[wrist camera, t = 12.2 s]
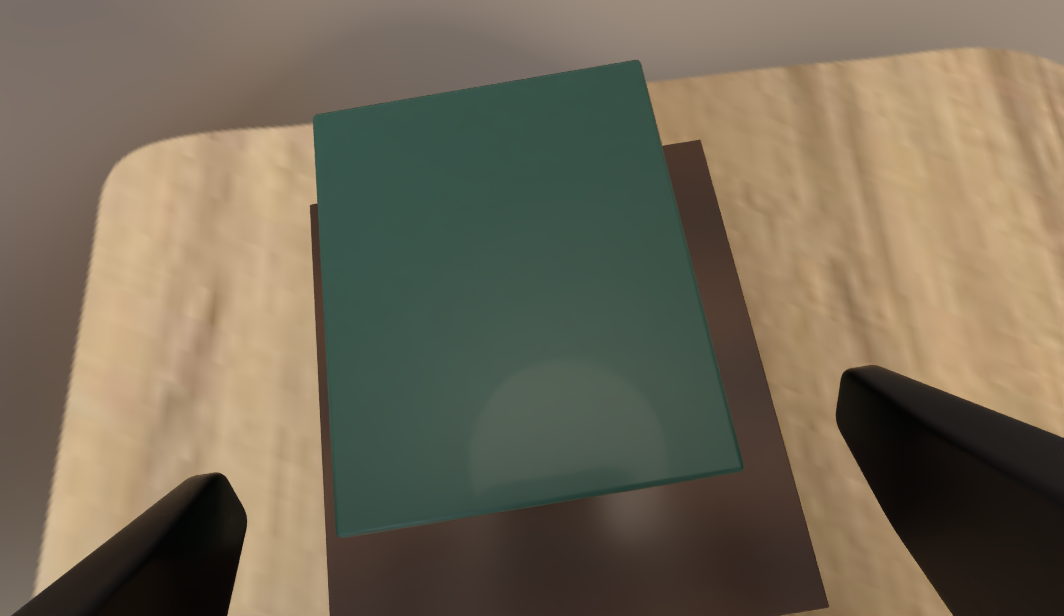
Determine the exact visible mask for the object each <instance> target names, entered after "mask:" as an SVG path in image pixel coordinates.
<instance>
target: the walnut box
mask: <svg viewBox="0 0 1064 616" xmlns="http://www.w3.org/2000/svg"><path fill="white" fill-rule="evenodd" d="M662 147H663V151H664V155H665V159H666V163H667V167H668V171H669V175H670V179H671V183H672V186H673V190H674V194H675V198H676V202H677V206H678V210H679V214H680V218H681V222H682V226H683V229H684V233H685V237H686V241H687V245H688V249H689V253H690V257H691V261H692V265H693V269H694V272H695V276H696V280H697V284H698V288H699V292H700V296H701V300H702V304H703V308H704V312H705V315H706V319H707V323H708V327H709V331H710V335H711V339H712V343H713V347H714V351H715V355H716V358H717V362H718V366H719V370H720V374H721V378H722V382H723V386H724V390H725V394H726V398H727V401H728V405H729V409H730V413H731V417H732V421H733V425H734V429H735V433H736V437H737V441H738V444H739V448H740V452H741V456H742V460H743V464H744V467H743V471H741V472H740V473H736V474H729V475H723V476H717V477H711V478H705V479H699V480H693V481H687V482H681V483H675V484H669V485H663V486H657V487H651V488H645V489H639V490H632V491H626V492H620V493H614V494H608V495H602V496H596V497H590V498H584V499H578V500H572V501H566V502H560V503H554V504H548V505H542V506H535V507H529V508H523V509H517V510H511V511H505V512H499V513H493V514H487V515H481V516H475V517H469V518H463V519H457V520H451V521H445V522H438V523H432V524H426V525H420V526H414V527H408V528H402V529H396V530H390V531H384V532H378V533H372V534H366V535H360V536H354V537H347V538H340V537H338V536H337V534H336V526H335V508H334V490H333V472H332V454H331V436H330V418H329V400H328V382H327V364H326V346H325V328H324V310H323V292H322V274H321V256H320V238H319V220H318V204H312V205H310V217H311V237H312V258H313V279H314V299H315V320H316V341H317V361H318V382H319V403H320V423H321V444H322V465H323V485H324V506H325V526H326V547H327V568H328V588H329V609H330V616H780V615H786V614H792V613H798V612H805V611H811V610H817V609H823V608H828V607H829V605H828V601H827V597H826V594H825V590H824V586H823V583H822V579H821V576H820V572H819V568H818V565H817V561H816V557H815V554H814V550H813V547H812V543H811V539H810V536H809V532H808V528H807V525H806V521H805V518H804V514H803V510H802V507H801V503H800V499H799V496H798V492H797V489H796V485H795V481H794V478H793V474H792V470H791V467H790V463H789V460H788V456H787V452H786V449H785V445H784V441H783V438H782V434H781V430H780V427H779V423H778V420H777V416H776V412H775V409H774V405H773V401H772V398H771V394H770V391H769V387H768V383H767V380H766V376H765V372H764V369H763V365H762V362H761V358H760V354H759V351H758V347H757V343H756V340H755V336H754V333H753V329H752V325H751V322H750V318H749V314H748V311H747V307H746V304H745V300H744V296H743V293H742V289H741V285H740V282H739V278H738V274H737V271H736V267H735V264H734V260H733V256H732V253H731V249H730V245H729V242H728V238H727V235H726V231H725V227H724V224H723V220H722V216H721V213H720V209H719V206H718V202H717V198H716V195H715V191H714V187H713V184H712V180H711V177H710V173H709V169H708V166H707V162H706V158H705V155H704V151H703V148H702V144H701V141H700V140H695V141H689V142H683V143H677V144H671V145H665V146H662Z"/></svg>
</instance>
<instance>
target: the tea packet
mask: <svg viewBox="0 0 1064 616" xmlns="http://www.w3.org/2000/svg"><path fill="white" fill-rule="evenodd" d="M313 130H314V148H315V166H316V184H317V202H318V220H319V238H320V256H321V274H322V292H323V310H324V328H325V346H326V364H327V382H328V400H329V418H330V436H331V454H332V472H333V490H334V508H335V526H336V534H337V536H338V537H340V538H347V537H354V536H360V535H366V534H372V533H378V532H384V531H390V530H396V529H402V528H408V527H414V526H420V525H426V524H432V523H438V522H445V521H451V520H457V519H463V518H469V517H475V516H481V515H487V514H493V513H499V512H505V511H511V510H517V509H523V508H529V507H535V506H542V505H548V504H554V503H560V502H566V501H572V500H578V499H584V498H590V497H596V496H602V495H608V494H614V493H620V492H626V491H632V490H639V489H645V488H651V487H657V486H663V485H669V484H675V483H681V482H687V481H693V480H699V479H705V478H711V477H717V476H723V475H729V474H736V473H740V472H741V471H743V467H744V464H743V460H742V456H741V452H740V448H739V444H738V441H737V437H736V433H735V429H734V425H733V421H732V417H731V413H730V409H729V405H728V401H727V398H726V394H725V390H724V386H723V382H722V378H721V374H720V370H719V366H718V362H717V358H716V355H715V351H714V347H713V343H712V339H711V335H710V331H709V327H708V323H707V319H706V315H705V312H704V308H703V304H702V300H701V296H700V292H699V288H698V284H697V280H696V276H695V272H694V269H693V265H692V261H691V257H690V253H689V249H688V245H687V241H686V237H685V233H684V229H683V226H682V222H681V218H680V214H679V210H678V206H677V202H676V198H675V194H674V190H673V186H672V183H671V179H670V175H669V171H668V167H667V163H666V159H665V155H664V151H663V147H662V143H661V140H660V136H659V132H658V128H657V124H656V120H655V116H654V112H653V108H652V104H651V100H650V96H649V93H648V89H647V85H646V81H645V77H644V73H643V70H642V65H641V63H640V62H639V60H632V61H627V62H621V63H615V64H609V65H603V66H597V67H592V68H586V69H580V70H574V71H568V72H562V73H556V74H550V75H545V76H539V77H533V78H527V79H521V80H515V81H510V82H504V83H498V84H492V85H486V86H480V87H474V88H468V89H462V90H457V91H451V92H445V93H439V94H434V95H427V96H422V97H416V98H410V99H404V100H399V101H393V102H387V103H380V104H375V105H369V106H363V107H357V108H352V109H346V110H339V111H334V112H328V113H322V114H316V115H315V116H314V117H313Z"/></svg>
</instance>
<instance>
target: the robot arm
mask: <svg viewBox="0 0 1064 616" xmlns="http://www.w3.org/2000/svg"><path fill="white" fill-rule="evenodd" d="M836 421H837V425H838V428H839V430H840V432H841V434H842V436H843V438H844V440H845V442H846V443H847V445H848V447H849V449H850V451H851V453H852V454H853V456H854V458H855V460H856V462H857V464H858V465H859V467H860V469H861V471H862V473H863V475H864V477H865V478H866V480H867V482H868V484H869V486H870V488H871V489H872V491H873V493H874V495H875V497H876V499H877V500H878V502H879V504H880V506H881V508H882V510H883V511H884V513H885V515H886V516H887V518H888V520H889V522H890V523H891V525H892V526H893V528H894V530H895V531H896V533H897V534H898V536H899V537H900V539H901V540H902V542H903V543H904V545H905V546H906V548H907V549H908V551H909V552H910V553H911V555H912V556H913V558H914V559H915V561H916V562H917V564H918V565H919V567H920V568H921V569H922V571H923V572H924V574H925V575H926V577H927V578H928V580H929V581H930V583H931V584H932V585H933V587H934V588H935V590H936V591H937V593H938V594H939V596H940V597H941V599H942V600H943V601H944V603H945V604H946V606H947V607H948V609H949V610H950V612H951V613H952V615H953V616H1064V438H1063V437H1060V436H1058V435H1055V434H1052V433H1050V432H1047V431H1045V430H1042V429H1040V428H1037V427H1034V426H1032V425H1029V424H1027V423H1024V422H1022V421H1019V420H1016V419H1014V418H1011V417H1009V416H1006V415H1004V414H1001V413H998V412H996V411H993V410H991V409H988V408H986V407H983V406H980V405H978V404H975V403H973V402H970V401H967V400H965V399H962V398H960V397H957V396H955V395H952V394H949V393H947V392H944V391H942V390H939V389H937V388H934V387H931V386H929V385H926V384H924V383H921V382H919V381H916V380H913V379H911V378H908V377H906V376H903V375H900V374H898V373H895V372H893V371H890V370H888V369H885V368H882V367H880V366H877V365H868V366H862V367H856V368H850V369H847V370H846V371H844V373H843V374H842V377H841V381H840V388H839V395H838V402H837V409H836ZM246 528H247V516H246V512H245V509H244V507H243V506H242V504H241V502H240V500H239V499H238V497H237V495H236V493H235V492H234V490H233V488H232V486H231V485H230V483H229V481H228V479H227V478H226V476H224V475H223V474H221V473H217V472H215V473H209V474H202V475H196V476H192V477H190V478H188V479H186V480H185V481H184V482H182V483H181V484H180V485H179V486H177V487H176V488H175V489H173V490H172V491H171V492H170V493H168V494H167V495H166V496H164V497H163V498H162V499H161V500H159V501H158V502H157V503H155V504H154V505H153V506H152V507H150V508H149V509H148V510H146V511H145V512H144V513H143V514H141V515H140V516H139V517H137V518H136V519H135V520H134V521H132V522H131V523H130V524H128V525H127V526H126V527H125V528H123V529H122V530H121V531H119V532H118V533H117V534H116V535H114V536H113V537H112V538H110V539H109V540H108V541H107V542H105V543H104V544H103V545H101V546H100V547H99V548H98V549H96V550H95V551H94V552H92V553H91V554H90V555H89V556H87V557H86V558H85V559H83V560H82V561H81V562H79V563H78V564H77V565H76V566H74V567H73V568H72V569H70V570H69V571H68V572H67V573H65V574H64V575H63V576H61V577H60V578H59V579H58V580H56V581H55V582H54V583H52V584H51V585H50V586H49V587H47V588H46V589H45V590H43V591H42V592H41V593H40V594H38V595H37V596H36V597H34V598H33V599H32V600H31V601H29V602H28V603H27V604H25V605H24V606H23V607H22V608H20V609H19V610H18V611H16V612H15V613H14V614H13V615H11V616H227V614H228V610H229V605H230V601H231V596H232V591H233V587H234V582H235V578H236V573H237V569H238V564H239V560H240V555H241V551H242V546H243V542H244V537H245V533H246Z"/></svg>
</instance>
